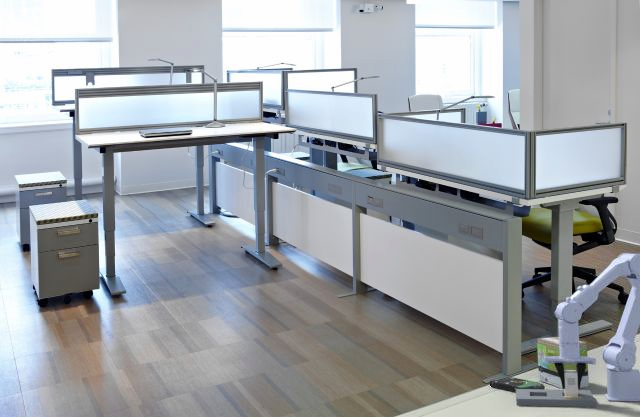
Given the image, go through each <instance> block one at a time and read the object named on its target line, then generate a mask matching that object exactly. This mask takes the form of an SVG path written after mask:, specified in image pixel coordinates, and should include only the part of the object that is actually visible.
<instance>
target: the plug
mask: <svg viewBox="0 0 640 417" xmlns="http://www.w3.org/2000/svg"><path fill="white" fill-rule="evenodd" d="M564 381H565V389H563V390H564V395H565V396H570V397H578V390H579V389H578V377H577V371H576V370H564Z"/></svg>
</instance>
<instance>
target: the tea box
mask: <svg viewBox="0 0 640 417" xmlns="http://www.w3.org/2000/svg"><path fill="white" fill-rule="evenodd" d="M536 342H537V343H536V347H537V366H538V367H537V371H538V381H539V382H543V383H546V384H548V385H551V386H554V387H555V388H556V387H557V388H559V389H560V390H564V389H563V388H562V383H561V379H560V376H559V374H558V371H557V369H556V367H555V365H554V364H545V357H553V356H560V349H559V336H553V337H552V336H551V337H550V336H549V337H542V338H536ZM579 350H580V356H582V357H589V356H588V342H587V341H586V342H585V341H581V340H579ZM564 362H565V361H564ZM563 366H564V370H576V371H577V368H576V364H563ZM589 379H590V378H589V364H586V369H585V372H584V374H583V376H582V380H581V384H580V389H581V388H582V389H583V388H587V387H589V386H590V384H589Z"/></svg>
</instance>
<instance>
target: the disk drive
mask: <svg viewBox="0 0 640 417" xmlns="http://www.w3.org/2000/svg"><path fill="white" fill-rule="evenodd" d="M526 382H527V383H526ZM490 386H491V387H492V388H491V389H495V390H501V391H504V392H509V393H513V394H516V389H545V384H544V383H540V382H537V381H533V380H527V379H524V378H523V379H522V378H518V377H512V376H511V377H510V376H509V377H506V378H504V377H503V378H498V379H497V380H496V379H493V380H489V387H490Z"/></svg>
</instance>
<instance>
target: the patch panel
mask: <svg viewBox="0 0 640 417" xmlns="http://www.w3.org/2000/svg"><path fill="white" fill-rule="evenodd" d="M515 398H516V399H515V400H516V406H519V407H521V406H523V407H524V406H526V407H530V406H531V407H533V406H534V407H563V408H564V407H566V408H567V407H569V408H576V407H577V408H596V399H595V397H594V396H593V393H592V392H591V390H590V389H578V397H570V396H565V395H564V389H516V393H515Z"/></svg>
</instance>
